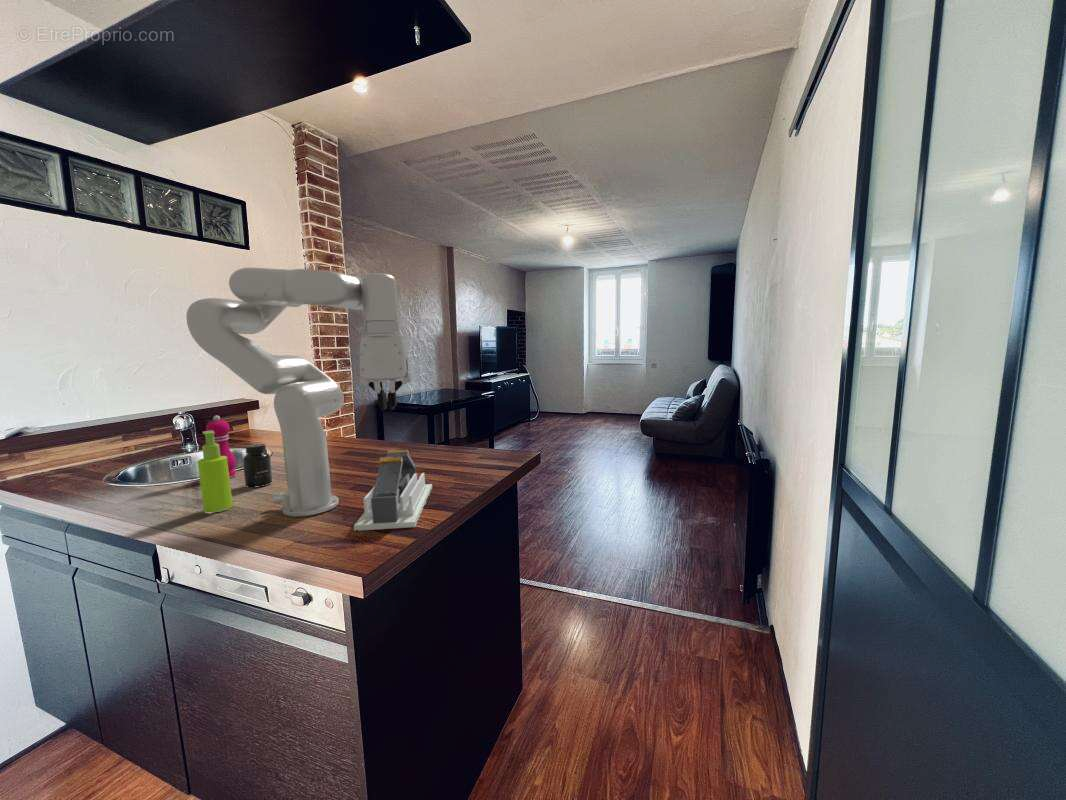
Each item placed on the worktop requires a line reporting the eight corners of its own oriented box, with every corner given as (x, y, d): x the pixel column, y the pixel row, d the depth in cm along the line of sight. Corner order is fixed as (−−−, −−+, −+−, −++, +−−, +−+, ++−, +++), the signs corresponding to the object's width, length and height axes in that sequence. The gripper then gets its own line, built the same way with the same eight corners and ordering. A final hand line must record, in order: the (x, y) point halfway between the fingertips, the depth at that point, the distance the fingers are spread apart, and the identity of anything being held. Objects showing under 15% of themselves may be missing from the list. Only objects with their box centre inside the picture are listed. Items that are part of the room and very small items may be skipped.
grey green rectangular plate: (386, 456, 106) (387, 450, 107) (396, 469, 115) (396, 463, 116) (407, 455, 107) (407, 449, 107) (414, 468, 115) (415, 462, 116)
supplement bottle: (263, 488, 123) (258, 448, 121) (240, 488, 123) (235, 448, 121) (277, 480, 130) (273, 442, 128) (255, 481, 130) (251, 443, 128)
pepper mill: (223, 481, 131) (215, 417, 128) (203, 480, 132) (195, 417, 129) (243, 474, 138) (236, 413, 135) (224, 473, 139) (217, 413, 136)
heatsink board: (354, 530, 92) (351, 500, 91) (384, 490, 118) (383, 466, 117) (415, 527, 93) (413, 496, 92) (432, 488, 119) (430, 464, 118)
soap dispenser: (229, 502, 112) (220, 428, 109) (235, 508, 107) (225, 431, 105) (202, 508, 108) (191, 431, 105) (206, 515, 103) (195, 435, 100)
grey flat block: (373, 496, 94) (372, 492, 93) (381, 461, 101) (380, 457, 100) (396, 495, 94) (395, 491, 93) (403, 460, 102) (401, 456, 101)
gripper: (341, 330, 92) (348, 413, 95) (413, 328, 94) (418, 410, 96) (352, 331, 100) (358, 408, 102) (419, 329, 101) (424, 406, 103)
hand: (387, 409), depth 99 cm, fingers closed
